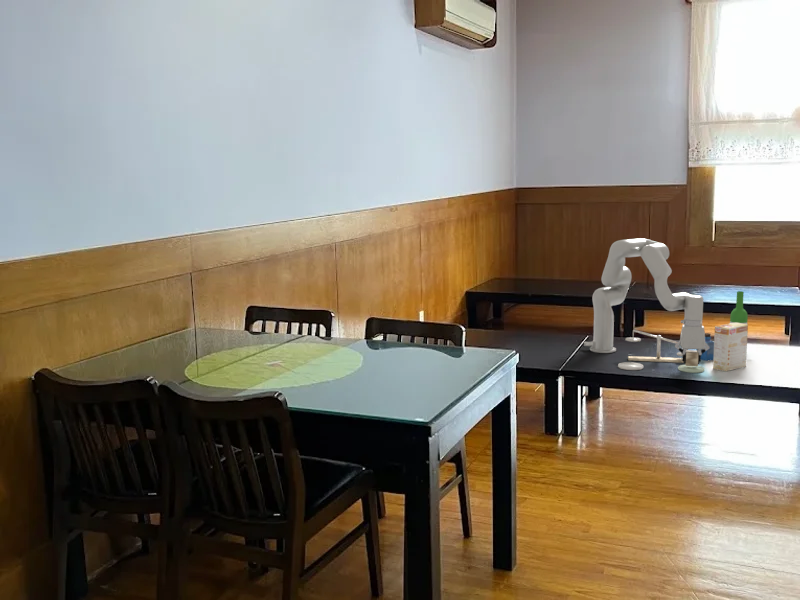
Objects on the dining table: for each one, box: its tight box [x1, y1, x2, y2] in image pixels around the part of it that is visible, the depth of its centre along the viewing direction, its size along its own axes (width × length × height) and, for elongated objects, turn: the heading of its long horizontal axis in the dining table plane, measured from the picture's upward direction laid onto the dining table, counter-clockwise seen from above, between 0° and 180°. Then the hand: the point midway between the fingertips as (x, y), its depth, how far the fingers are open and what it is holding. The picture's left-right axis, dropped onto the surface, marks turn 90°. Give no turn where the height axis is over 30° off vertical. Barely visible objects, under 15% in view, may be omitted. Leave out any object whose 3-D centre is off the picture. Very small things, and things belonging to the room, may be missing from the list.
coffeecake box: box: [712, 322, 749, 372], centre depth 358 cm, size 15×7×20 cm, turn 123°
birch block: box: [684, 349, 699, 366], centre depth 356 cm, size 5×5×6 cm
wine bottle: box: [729, 290, 749, 325], centre depth 385 cm, size 8×8×30 cm
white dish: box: [617, 361, 644, 371], centre depth 363 cm, size 11×11×1 cm
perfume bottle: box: [695, 332, 714, 362], centre depth 376 cm, size 6×6×12 cm
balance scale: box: [625, 329, 689, 364], centre depth 373 cm, size 30×7×15 cm, turn 76°
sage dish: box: [677, 364, 705, 374], centre depth 357 cm, size 11×11×1 cm
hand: (691, 362), depth 357 cm, fingers closed on birch block, 4 cm apart
